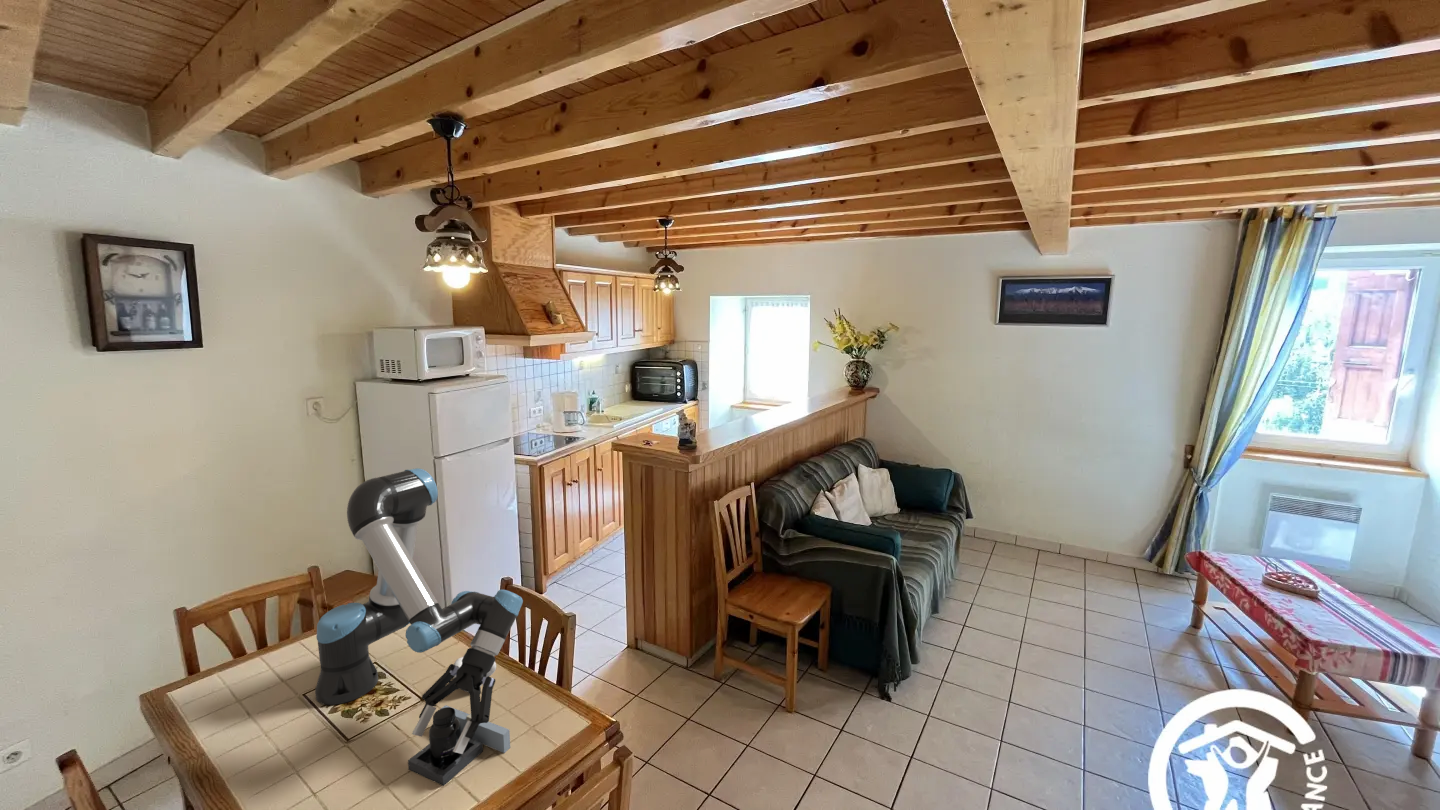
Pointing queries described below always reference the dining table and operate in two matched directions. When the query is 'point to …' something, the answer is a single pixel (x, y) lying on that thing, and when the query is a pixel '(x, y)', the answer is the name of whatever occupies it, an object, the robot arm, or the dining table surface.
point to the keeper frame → (444, 775)
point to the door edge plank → (486, 732)
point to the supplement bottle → (444, 738)
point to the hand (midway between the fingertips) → (436, 744)
